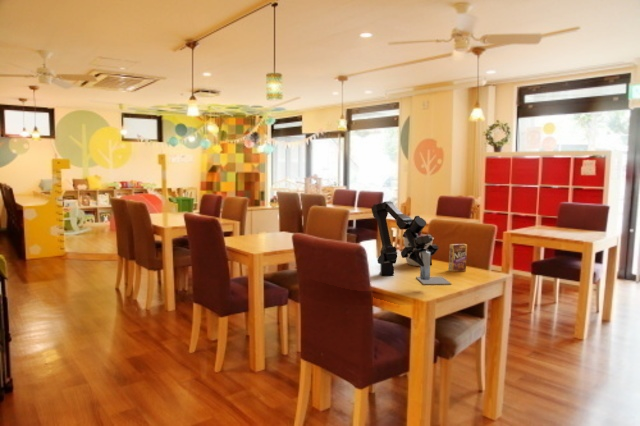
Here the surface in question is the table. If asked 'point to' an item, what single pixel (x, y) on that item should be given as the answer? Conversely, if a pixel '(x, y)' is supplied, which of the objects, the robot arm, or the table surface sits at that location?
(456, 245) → the candy box
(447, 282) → the gray mat
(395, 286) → the table surface
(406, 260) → the canister
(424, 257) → the tin canister
